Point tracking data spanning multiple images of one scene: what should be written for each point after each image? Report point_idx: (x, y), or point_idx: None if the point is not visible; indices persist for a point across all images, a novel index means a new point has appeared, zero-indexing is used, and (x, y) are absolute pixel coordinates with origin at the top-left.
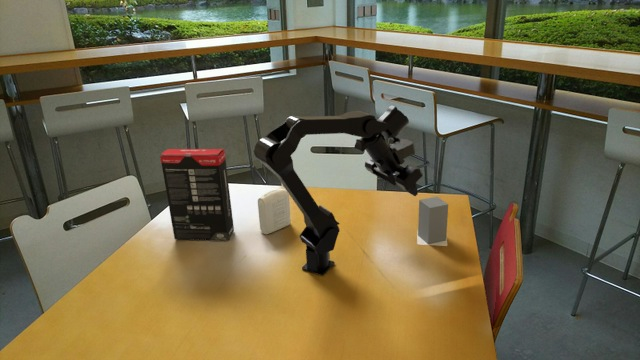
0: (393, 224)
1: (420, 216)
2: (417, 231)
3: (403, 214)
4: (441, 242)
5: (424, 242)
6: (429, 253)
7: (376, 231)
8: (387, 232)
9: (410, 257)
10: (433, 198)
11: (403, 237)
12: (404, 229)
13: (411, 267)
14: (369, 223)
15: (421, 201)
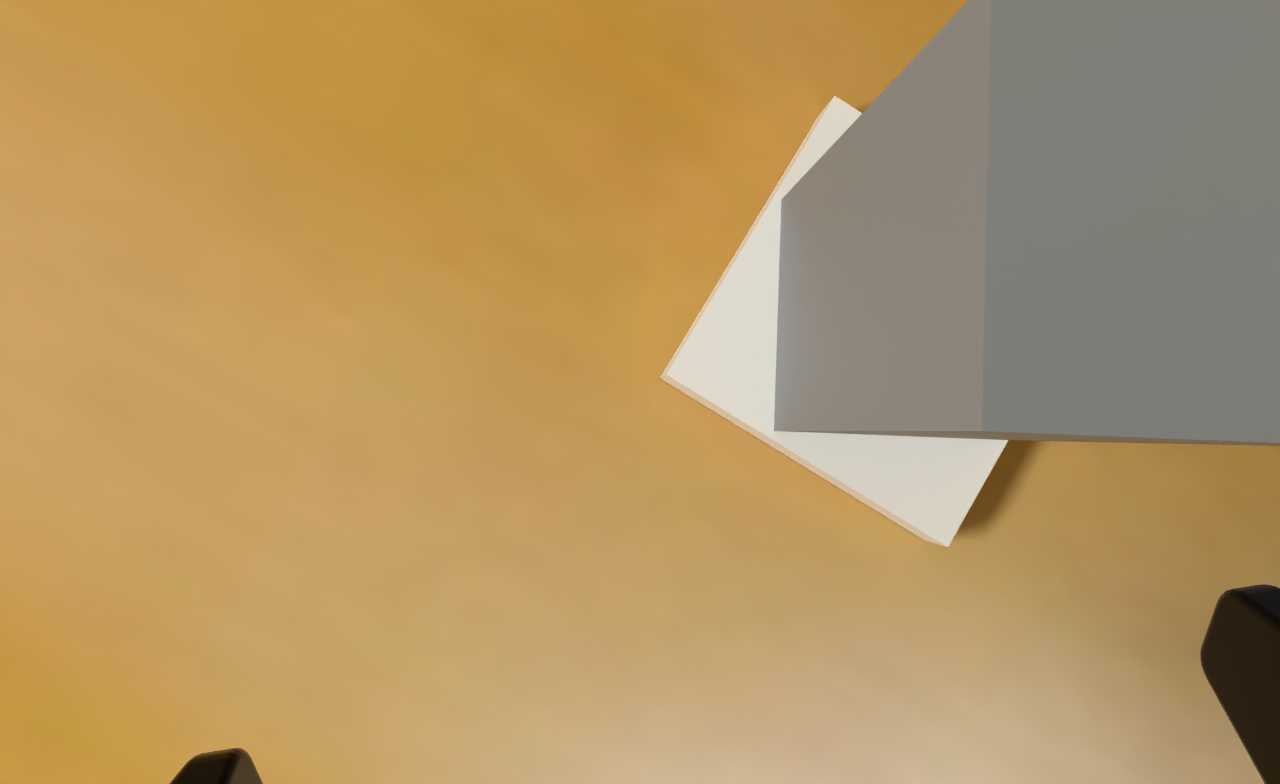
0: (302, 494)
1: (917, 433)
2: (689, 385)
3: (109, 244)
4: None
5: (946, 452)
6: (1045, 468)
7: (374, 768)
8: (455, 657)
9: (1037, 685)
10: (1047, 109)
11: (641, 544)
12: (476, 438)
13: (1197, 768)
14: (139, 758)
15: (1079, 433)
